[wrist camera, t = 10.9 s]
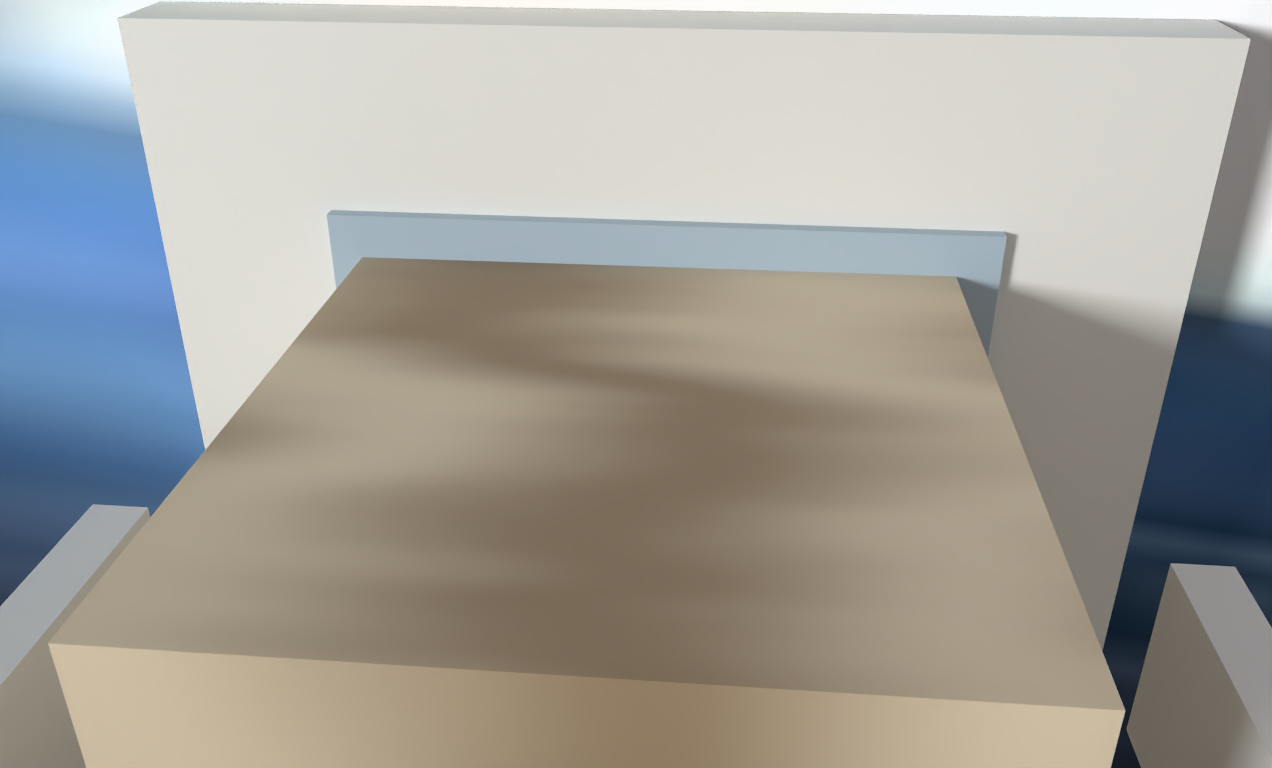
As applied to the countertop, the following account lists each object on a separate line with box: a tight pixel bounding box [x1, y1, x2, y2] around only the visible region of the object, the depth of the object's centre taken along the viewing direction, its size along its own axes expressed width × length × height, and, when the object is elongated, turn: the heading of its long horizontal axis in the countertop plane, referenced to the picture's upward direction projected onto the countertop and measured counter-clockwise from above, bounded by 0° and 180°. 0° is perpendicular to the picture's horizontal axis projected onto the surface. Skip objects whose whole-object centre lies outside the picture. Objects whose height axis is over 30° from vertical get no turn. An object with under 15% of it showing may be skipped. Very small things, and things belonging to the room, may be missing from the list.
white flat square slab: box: [118, 2, 1251, 650], centre depth 18 cm, size 14×14×1 cm
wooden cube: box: [48, 257, 1125, 768], centre depth 14 cm, size 8×8×8 cm
